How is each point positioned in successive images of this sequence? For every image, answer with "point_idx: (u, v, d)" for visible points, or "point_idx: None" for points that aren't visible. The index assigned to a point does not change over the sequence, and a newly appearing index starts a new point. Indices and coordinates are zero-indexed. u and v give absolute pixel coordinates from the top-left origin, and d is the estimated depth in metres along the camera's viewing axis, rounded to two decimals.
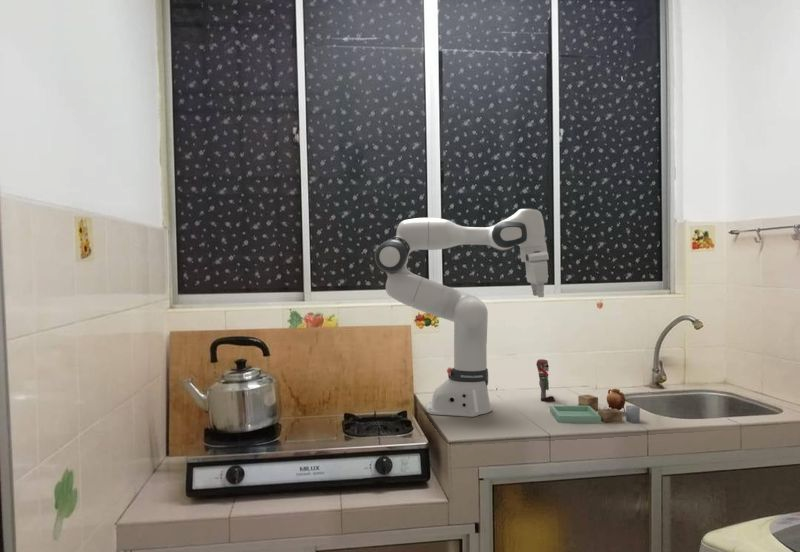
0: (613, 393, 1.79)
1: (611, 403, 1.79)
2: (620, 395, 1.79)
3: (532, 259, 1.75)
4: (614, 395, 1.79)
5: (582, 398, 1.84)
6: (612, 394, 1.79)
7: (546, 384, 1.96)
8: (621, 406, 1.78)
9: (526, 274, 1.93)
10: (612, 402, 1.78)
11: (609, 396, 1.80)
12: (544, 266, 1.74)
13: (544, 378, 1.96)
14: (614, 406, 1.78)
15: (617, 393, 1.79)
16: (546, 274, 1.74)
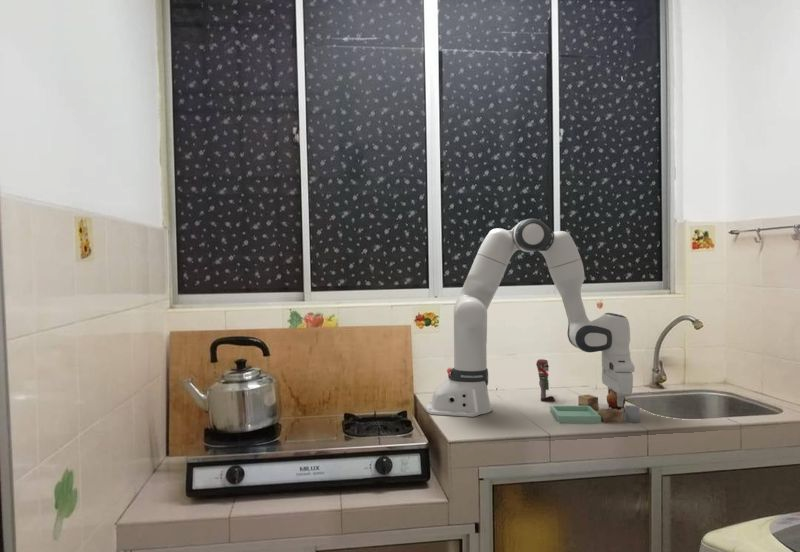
0: (613, 393, 1.79)
1: (611, 403, 1.79)
2: None
3: (617, 370, 1.72)
4: (614, 395, 1.79)
5: (582, 398, 1.84)
6: (612, 394, 1.79)
7: (546, 384, 1.96)
8: None
9: (602, 375, 1.89)
10: (612, 402, 1.78)
11: (609, 396, 1.80)
12: (630, 379, 1.71)
13: (544, 378, 1.96)
14: (614, 406, 1.78)
15: None
16: (631, 387, 1.70)
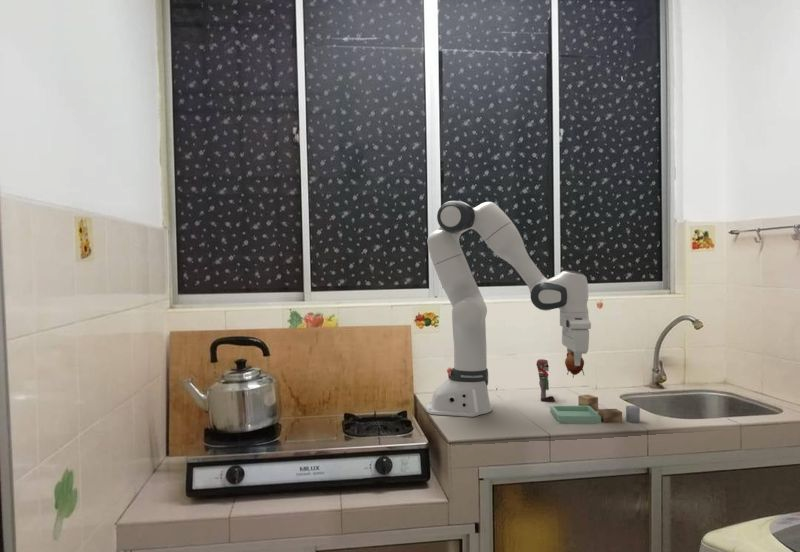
0: (571, 356, 1.74)
1: (570, 366, 1.73)
2: None
3: (573, 327, 1.67)
4: (572, 358, 1.74)
5: (582, 398, 1.84)
6: (570, 357, 1.74)
7: (546, 384, 1.96)
8: (579, 369, 1.73)
9: (562, 336, 1.84)
10: (570, 365, 1.73)
11: (567, 359, 1.75)
12: (586, 336, 1.66)
13: (544, 378, 1.96)
14: (572, 369, 1.73)
15: None
16: (587, 344, 1.65)
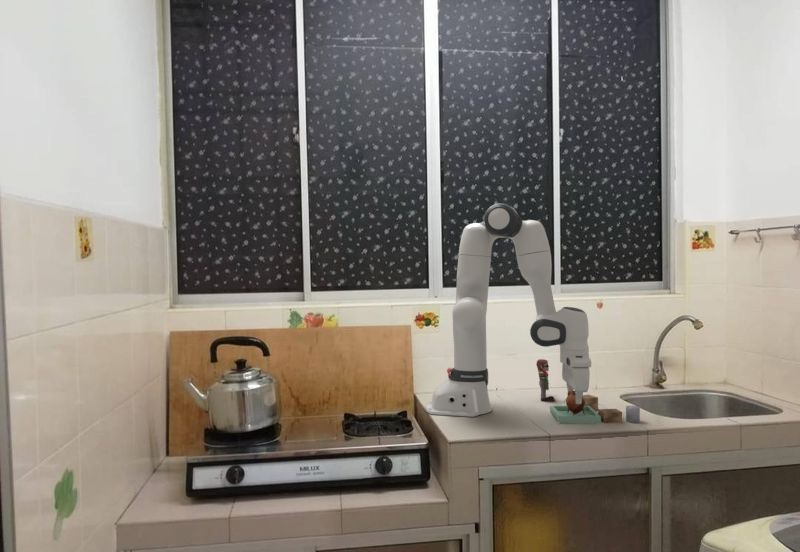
0: (572, 395, 1.75)
1: (570, 406, 1.74)
2: None
3: (574, 365, 1.67)
4: (573, 397, 1.74)
5: None
6: (571, 396, 1.74)
7: (546, 384, 1.96)
8: (580, 408, 1.73)
9: (562, 371, 1.84)
10: (570, 405, 1.74)
11: (568, 398, 1.75)
12: (586, 375, 1.66)
13: (544, 378, 1.96)
14: (573, 408, 1.74)
15: None
16: (587, 383, 1.65)
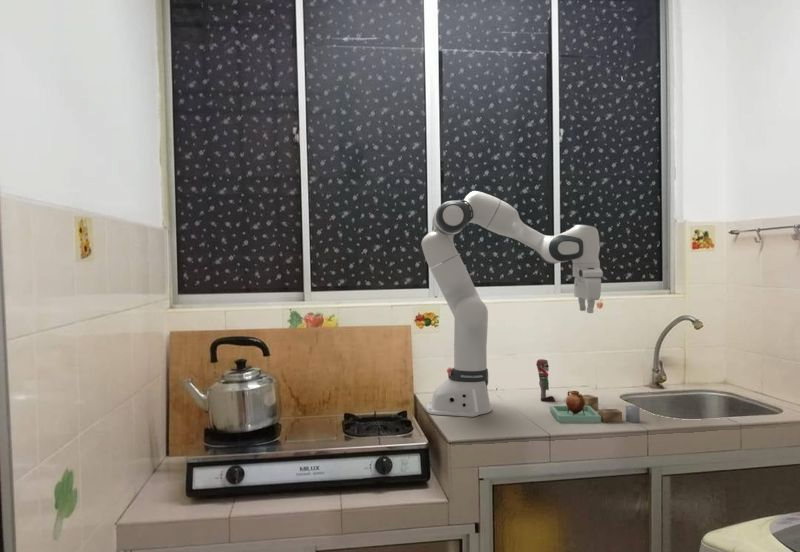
0: (572, 395, 1.75)
1: (570, 406, 1.74)
2: (579, 397, 1.74)
3: (586, 275, 1.78)
4: (573, 397, 1.74)
5: None
6: (571, 396, 1.74)
7: (546, 384, 1.96)
8: (580, 408, 1.73)
9: (574, 289, 1.95)
10: (570, 405, 1.74)
11: (568, 398, 1.75)
12: (598, 283, 1.77)
13: (544, 378, 1.96)
14: (573, 408, 1.74)
15: (576, 395, 1.74)
16: (599, 291, 1.76)
